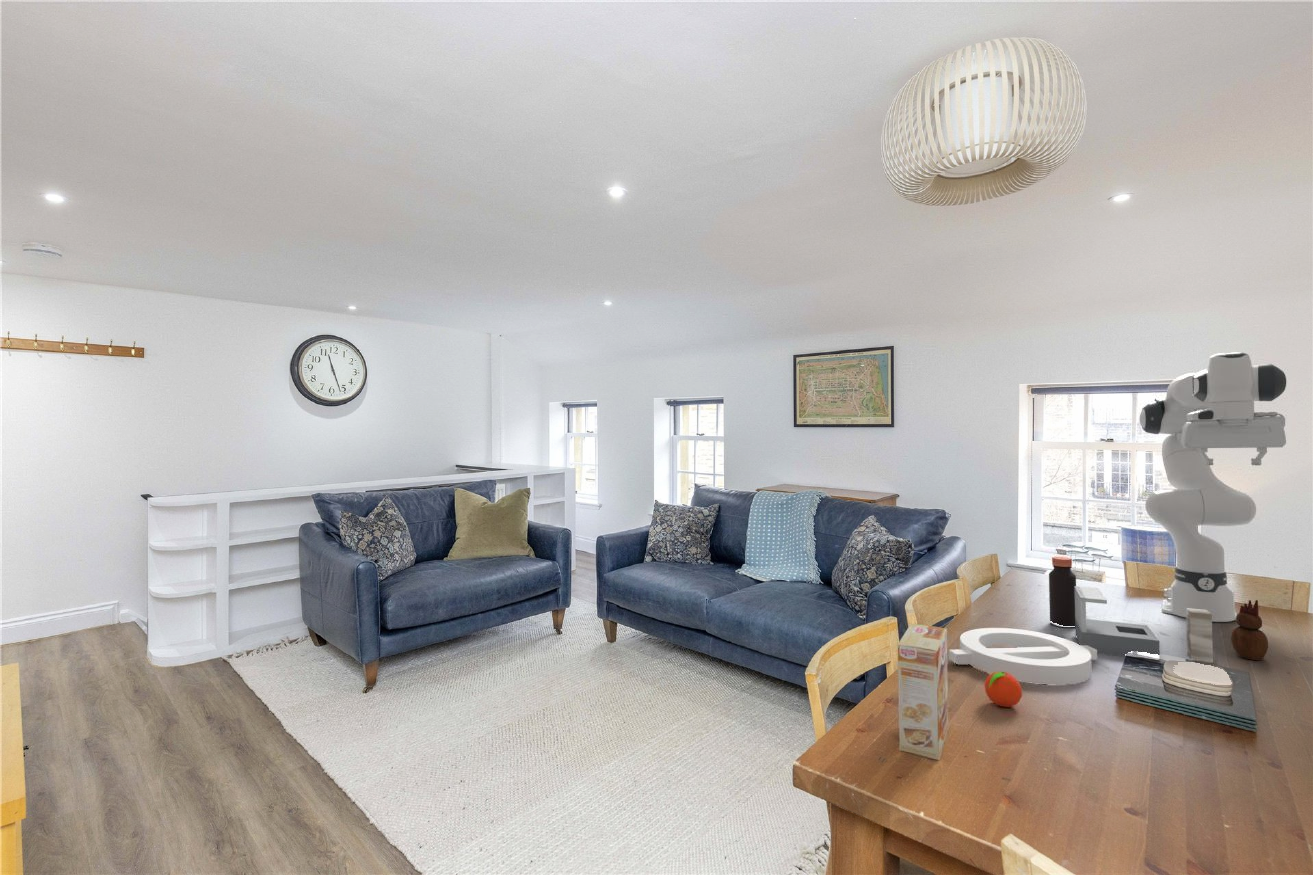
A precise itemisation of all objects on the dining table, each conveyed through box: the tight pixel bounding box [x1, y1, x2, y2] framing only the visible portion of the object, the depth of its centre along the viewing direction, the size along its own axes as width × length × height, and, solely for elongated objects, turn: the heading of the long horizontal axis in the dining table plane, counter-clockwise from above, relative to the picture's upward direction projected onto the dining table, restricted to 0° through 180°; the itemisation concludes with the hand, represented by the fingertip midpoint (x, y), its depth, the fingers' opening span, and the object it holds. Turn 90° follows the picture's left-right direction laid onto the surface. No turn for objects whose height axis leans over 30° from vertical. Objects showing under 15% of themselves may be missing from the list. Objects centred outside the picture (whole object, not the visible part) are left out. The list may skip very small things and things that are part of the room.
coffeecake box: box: [897, 623, 949, 761], centre depth 115 cm, size 15×7×20 cm, turn 148°
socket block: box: [1074, 585, 1161, 657], centre depth 161 cm, size 14×16×14 cm
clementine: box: [984, 671, 1023, 708], centre depth 128 cm, size 8×7×7 cm
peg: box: [1185, 608, 1214, 664], centre depth 152 cm, size 4×4×12 cm
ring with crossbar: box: [948, 627, 1098, 686], centre depth 152 cm, size 28×28×5 cm
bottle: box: [1048, 556, 1077, 626], centre depth 181 cm, size 7×7×20 cm
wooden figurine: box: [1230, 599, 1269, 661], centre depth 152 cm, size 7×6×15 cm
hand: (1232, 465), depth 160 cm, fingers open, 8 cm apart
